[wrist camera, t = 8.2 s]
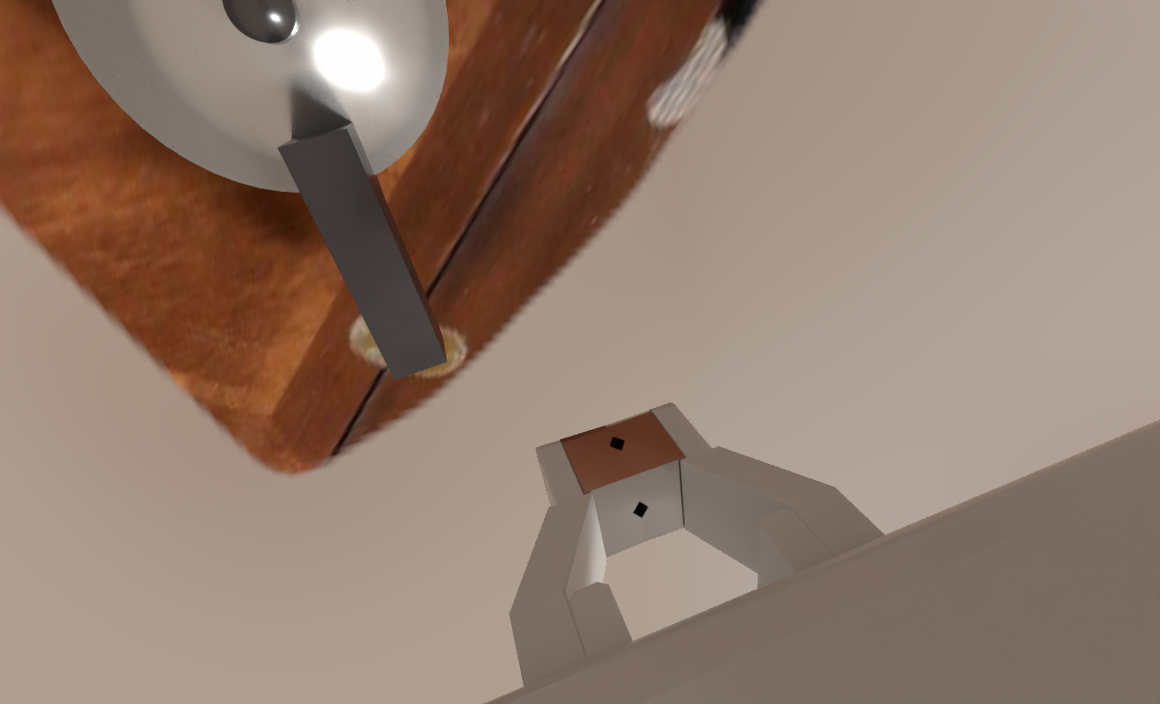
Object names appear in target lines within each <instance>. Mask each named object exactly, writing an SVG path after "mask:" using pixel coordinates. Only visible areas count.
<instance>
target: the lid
mask: <svg viewBox="0 0 1160 704" xmlns="http://www.w3.org/2000/svg"><path fill="white" fill-rule="evenodd" d="M52 2H53V5H54V7H55V9H56V12H57V14H58V16H59V19H60V21H61V23H62V25H63V28H64V30H65V31H66V33H67V35H68V37H69V38H70V40H71V42H72V44H73V45H74V47H75V49H76V51H77V52H78V54H79V56H80V57H81V59H82V60H83V62H84V63H85V64H86V66H87V67H88V69H89V70H90V71H91V73H92V74H93V76H94V77H95V78H96V80H97V81H98V83H99V84H100V85H101V86H102V87H103V88H104V89H105V91H106V92H107V93H108V94H109V95H110V96H111V97H112V99H113V100H114V101H115V102H116V103H117V104H118V105H119V107H121V108H122V109H123V110H124V111H125V112H126V113H127V114H128V115H129V116H130V117H131V118H132V119H133V120H134V121H135V122H136V123H137V124H139V125H140V126H141V127H142V128H143V129H144V130H146V131H147V132H148V133H149V134H151V135H152V136H153V137H155V138H156V139H157V140H158V141H160V142H161V143H162V144H164V145H165V146H167V147H168V148H170V149H171V150H173V151H174V152H176V153H178V154H179V155H181V156H182V157H184V158H185V159H187V160H189V161H191V162H193V163H195V164H197V165H199V166H201V167H202V168H204V169H206V170H208V171H210V172H212V173H215V174H217V175H220V176H223V177H225V178H228V179H230V180H233V181H236V182H239V183H243V184H246V185H250V186H254V187H257V188H262V189H268V190H275V191H281V192H300V194H301V196H302V198H303V200H304V201H305V203H306V205H307V207H308V209H309V211H310V213H311V215H312V217H313V219H314V221H315V223H316V225H317V227H318V229H319V231H320V233H321V235H322V237H323V239H324V241H325V243H326V245H327V247H328V249H329V251H330V253H331V255H332V257H333V259H334V261H335V263H336V265H337V267H338V269H339V271H340V273H341V275H342V277H343V279H344V281H345V283H346V285H347V287H348V289H349V291H350V293H351V295H352V297H353V299H354V300H355V302H356V304H357V306H358V308H359V310H360V312H361V314H362V316H363V318H364V320H365V322H366V324H367V326H368V328H369V330H370V332H371V334H372V336H373V338H374V340H375V342H376V344H377V346H378V348H379V350H380V352H381V354H382V356H383V358H384V360H385V362H386V364H387V366H388V368H389V370H390V372H391V374H392V376H393V378H394V380H396V379H399V378H402V377H405V376H408V375H411V374H413V373H416V372H419V371H422V370H425V369H428V368H430V367H433V366H436V365H439V364H442V363H445V362H447V359H446V353H445V347H444V341H443V336H442V333H441V331H440V328H439V326H438V324H437V321H436V319H435V317H434V314H433V312H432V309H431V307H430V305H429V302H428V300H427V298H426V295H425V293H424V290H423V288H422V286H421V283H420V281H419V279H418V276H417V274H416V272H415V269H414V267H413V264H412V262H411V260H410V257H409V255H408V253H407V250H406V248H405V245H404V243H403V241H402V238H401V236H400V234H399V231H398V229H397V226H396V224H395V222H394V219H393V217H392V215H391V212H390V210H389V207H388V205H387V203H386V200H385V198H384V196H383V193H382V191H381V188H380V186H379V184H378V181H377V179H376V177H375V175H376V174H378V173H379V172H381V171H383V170H385V169H386V168H387V167H389V166H390V165H391V164H393V163H394V162H395V161H397V160H398V159H399V158H400V157H401V156H402V155H403V154H404V153H405V152H406V151H407V150H408V149H409V148H410V147H411V146H412V145H413V144H414V143H415V141H416V140H417V139H418V137H419V136H420V135H421V133H422V132H423V131H424V129H425V127H426V126H427V124H428V122H429V120H430V118H431V116H432V115H433V113H434V111H435V108H436V105H437V103H438V100H439V97H440V95H441V92H442V88H443V83H444V79H445V75H446V70H447V61H448V51H449V27H448V16H447V8H446V1H445V0H52Z"/></svg>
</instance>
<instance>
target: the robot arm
mask: <svg viewBox="0 0 1160 704" xmlns="http://www.w3.org/2000/svg"><path fill="white" fill-rule="evenodd" d="M536 454H537V458H538V462H539V465H540V469H541V472H542V476H543V480H544V484H545V487H546V491H547V494H548V498H549V501H550V504H551V507H549V508H548V511H547V514H546V516H545V519H544V522H543V524H542V527H541V530H540V532H539V535H538V538H537V540H536V543H535V546H534V549H533V551H532V554H531V557H530V560H529V562H528V565H527V567H526V570H525V573H524V576H523V578H522V581H521V584H520V586H519V589H518V592H517V594H516V597H515V600H514V603H513V605H512V608H511V611H510V613H509V615H510V620H511V625H512V630H513V635H514V640H515V645H516V650H517V654H518V660H519V665H520V669H521V675H522V680H523V684H524V687H522V688H520V689H518V690H515V691H513V692H511V693H508V694H506V695H503V696H501V697H499V698H496V699H494V700H491V701H489V702H487V703H484V704H1160V420H1158V421H1155V422H1153V423H1151V424H1148V425H1146V426H1143V427H1141V428H1139V429H1137V430H1134V431H1132V432H1129V433H1127V434H1124V435H1122V436H1120V437H1117V438H1115V439H1113V440H1110V441H1108V442H1105V443H1103V444H1101V445H1099V446H1096V447H1094V448H1091V449H1089V450H1086V451H1084V452H1082V453H1079V454H1077V455H1074V456H1072V457H1070V458H1067V459H1065V460H1063V461H1060V462H1058V463H1055V464H1053V465H1051V466H1048V467H1046V468H1043V469H1041V470H1039V471H1036V472H1034V473H1032V474H1029V475H1027V476H1025V477H1022V478H1020V479H1017V480H1015V481H1012V482H1010V483H1008V484H1006V485H1003V486H1001V487H998V488H996V489H994V490H991V491H989V492H986V493H984V494H982V495H979V496H977V497H974V498H972V499H970V500H967V501H965V502H962V503H960V504H958V505H955V506H953V507H951V508H948V509H946V510H943V511H941V512H939V513H937V514H934V515H932V516H929V517H927V518H925V519H922V520H920V521H917V522H915V523H912V524H910V525H908V526H906V527H903V528H901V529H898V530H896V531H893V532H891V533H889V534H887V535H884V534H883V533H882V532H881V531H880V530H879V529H878V528H877V527H876V526H875V525H874V524H873V523H872V522H871V521H870V520H869V519H868V518H867V517H865V516H864V515H863V514H862V513H861V512H860V511H859V510H858V509H857V508H856V507H855V506H854V505H853V504H852V503H851V502H850V501H849V500H848V499H847V498H846V497H845V496H843V494H841V493H840V492H839V491H838V490H837V489H836V488H835V487H833V486H830V485H827V484H824V483H822V482H819V481H816V480H813V479H810V478H807V477H804V476H801V475H799V474H796V473H793V472H790V471H787V470H784V469H782V468H779V467H776V466H773V465H770V464H768V463H765V462H762V461H759V460H756V459H753V458H751V457H748V456H745V455H742V454H739V453H736V452H733V451H731V450H728V449H725V448H722V447H719V446H718V447H715V448H711V447H710V445H709V444H708V443H707V442H706V441H705V440H704V438H703V437H702V436H701V435H700V434H699V432H698V431H697V430H696V429H695V428H694V427H693V425H692V424H691V423H690V422H689V420H688V419H687V418H686V417H685V416H684V415H683V413H682V412H681V411H680V410H679V409H678V407H677V406H676V405H675V404H673V403H668V404H664V405H662V406H659V407H656V408H653V409H651V410H649V411H646V412H643V413H641V414H638V415H635V416H632V417H629V418H626V419H623V420H620V421H617V422H614V423H612V424H608V425H606V426H603V427H599V428H596V429H593V430H589V431H586V432H583V433H580V434H577V435H573V436H570V437H567V438H564V439H560V441H556V442H552V443H549V444H546V445H543V446H540V447H536ZM684 527H685V530H687V531H689V532H690V533H692V534H694V535H695V536H697V537H699V538H700V539H702V540H704V541H705V542H707V543H709V544H710V545H712V546H714V547H715V548H717V549H718V550H720V551H722V552H723V553H725V554H727V555H728V556H730V557H732V558H733V559H735V560H737V561H738V562H740V563H742V564H744V565H745V566H747V567H748V568H750V569H752V570H753V571H755V572H757V573H758V589H756V590H754V591H751V592H749V593H746V594H745V595H742V596H740V597H737V598H734V599H732V600H730V601H727V602H725V603H723V604H720V605H718V606H715V607H713V608H711V609H708V610H706V611H703V612H701V613H699V614H697V615H694V616H692V617H689V618H687V619H684V620H682V621H680V622H677V623H675V624H672V625H670V626H668V627H665V628H663V629H661V630H658V631H656V632H653V633H651V634H649V635H646V636H644V637H642V638H639V639H637V640H635V641H632V638H631V636H630V634H629V632H628V629H627V627H626V624H625V622H624V620H623V617H622V615H621V613H620V610H619V608H618V606H617V603H616V601H615V598H614V596H613V594H612V591H611V589H610V587H609V585H607V584H603V580H604V574H605V568H606V562H607V559H606V557H609V556H611V555H614V554H616V553H618V552H621V551H623V550H626V549H628V548H630V547H633V546H635V545H638V544H640V543H642V542H645V541H647V540H650V539H653V538H656V537H659V536H662V535H665V534H667V533H670V532H673V531H675V530H679V529H682V528H684Z"/></svg>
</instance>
